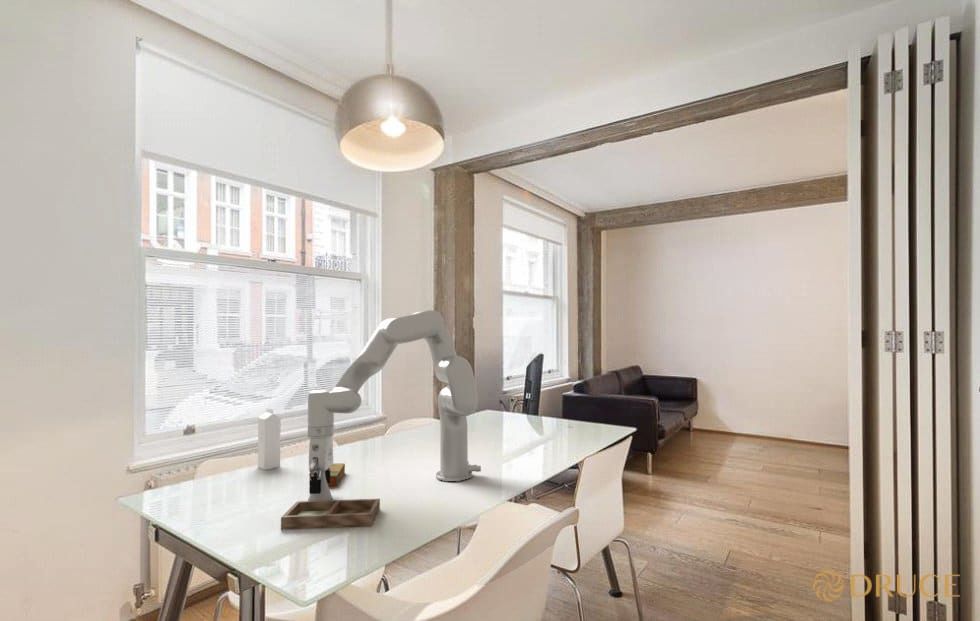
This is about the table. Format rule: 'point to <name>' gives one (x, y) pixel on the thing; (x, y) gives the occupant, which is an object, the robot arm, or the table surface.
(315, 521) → the holder
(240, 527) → the table surface
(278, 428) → the milk
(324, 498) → the flask
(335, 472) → the carton
